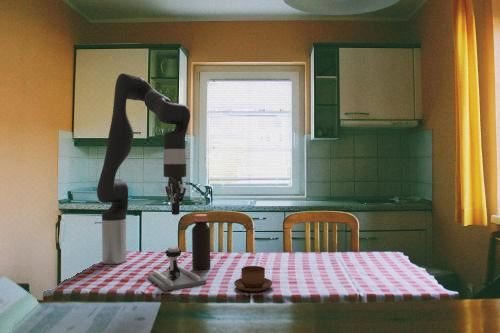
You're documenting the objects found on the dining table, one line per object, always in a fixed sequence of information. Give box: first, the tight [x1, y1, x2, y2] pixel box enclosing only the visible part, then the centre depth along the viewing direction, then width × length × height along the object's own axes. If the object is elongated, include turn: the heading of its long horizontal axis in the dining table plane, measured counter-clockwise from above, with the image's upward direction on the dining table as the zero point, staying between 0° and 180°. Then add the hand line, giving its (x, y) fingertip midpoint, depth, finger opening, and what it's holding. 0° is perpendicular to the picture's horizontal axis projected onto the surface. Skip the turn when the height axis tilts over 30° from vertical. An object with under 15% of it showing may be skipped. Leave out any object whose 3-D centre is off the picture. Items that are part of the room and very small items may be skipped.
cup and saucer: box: [233, 265, 273, 292], centre depth 124 cm, size 12×12×6 cm
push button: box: [164, 246, 182, 280], centre depth 131 cm, size 7×5×10 cm
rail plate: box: [147, 265, 207, 292], centre depth 132 cm, size 17×14×2 cm
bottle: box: [191, 213, 211, 271], centre depth 148 cm, size 7×7×20 cm
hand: (175, 214), depth 132 cm, fingers closed
